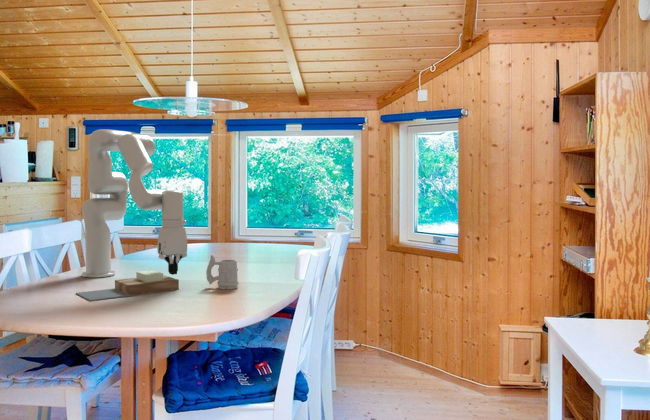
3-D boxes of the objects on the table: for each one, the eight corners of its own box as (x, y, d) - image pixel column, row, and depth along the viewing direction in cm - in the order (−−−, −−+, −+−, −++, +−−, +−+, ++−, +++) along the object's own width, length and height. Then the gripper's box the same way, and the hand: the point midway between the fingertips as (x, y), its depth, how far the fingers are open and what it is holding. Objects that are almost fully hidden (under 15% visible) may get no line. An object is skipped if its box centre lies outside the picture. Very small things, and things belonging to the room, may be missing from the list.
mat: (75, 294, 191) (75, 292, 191) (116, 289, 201) (116, 288, 200) (90, 301, 180) (90, 300, 180) (133, 295, 189) (133, 294, 189)
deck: (115, 289, 199) (114, 280, 199) (163, 284, 211) (162, 274, 211) (129, 295, 189) (129, 285, 189) (178, 289, 201) (178, 279, 201)
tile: (136, 278, 202) (136, 271, 202) (152, 277, 206) (152, 270, 206) (146, 282, 195) (146, 275, 195) (163, 280, 199) (163, 273, 199)
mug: (237, 289, 202) (237, 256, 201) (204, 289, 201) (203, 256, 201) (240, 285, 209) (240, 253, 209) (208, 285, 209) (208, 253, 208)
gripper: (186, 222, 213) (187, 270, 214) (148, 224, 203) (149, 274, 204) (196, 223, 207) (196, 273, 208) (157, 225, 198) (158, 277, 199)
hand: (173, 273), depth 206 cm, fingers closed
